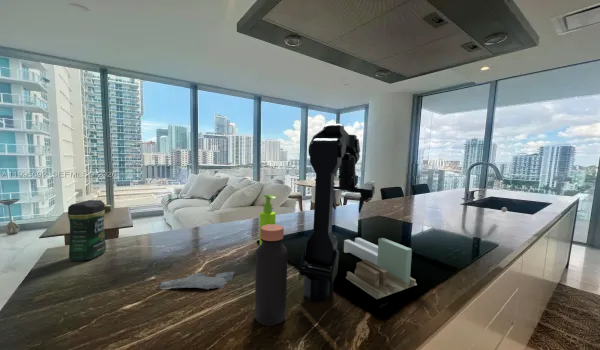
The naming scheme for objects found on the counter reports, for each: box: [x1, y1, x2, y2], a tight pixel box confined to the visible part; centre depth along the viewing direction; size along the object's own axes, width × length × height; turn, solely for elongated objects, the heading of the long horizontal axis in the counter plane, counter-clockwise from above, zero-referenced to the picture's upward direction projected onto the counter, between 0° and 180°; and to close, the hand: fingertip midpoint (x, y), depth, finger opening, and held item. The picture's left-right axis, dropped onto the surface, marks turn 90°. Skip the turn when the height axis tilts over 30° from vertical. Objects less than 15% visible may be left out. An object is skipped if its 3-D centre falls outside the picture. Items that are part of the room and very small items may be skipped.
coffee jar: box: [67, 199, 107, 262], centre depth 82 cm, size 10×8×19 cm
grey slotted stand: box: [343, 237, 378, 265], centre depth 87 cm, size 7×16×4 cm, turn 29°
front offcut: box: [355, 261, 380, 290], centre depth 67 cm, size 2×7×5 cm, turn 29°
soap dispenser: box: [259, 194, 277, 246], centre depth 95 cm, size 6×7×20 cm
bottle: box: [254, 223, 288, 327], centre depth 54 cm, size 7×7×20 cm
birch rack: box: [345, 269, 418, 300], centre depth 69 cm, size 16×12×2 cm
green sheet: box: [377, 237, 413, 285], centre depth 71 cm, size 2×10×10 cm, turn 29°
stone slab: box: [156, 271, 236, 290], centre depth 69 cm, size 18×2×10 cm
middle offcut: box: [361, 259, 388, 288], centre depth 68 cm, size 2×8×5 cm, turn 29°
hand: (347, 210), depth 92 cm, fingers open, 9 cm apart
